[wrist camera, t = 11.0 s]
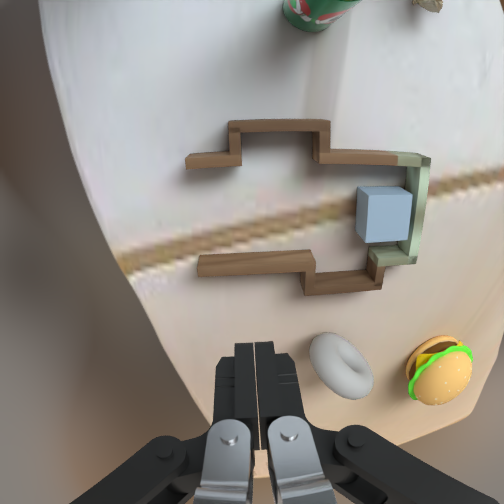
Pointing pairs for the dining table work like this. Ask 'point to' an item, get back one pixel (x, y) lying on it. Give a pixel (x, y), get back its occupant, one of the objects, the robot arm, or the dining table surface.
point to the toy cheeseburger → (439, 370)
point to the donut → (341, 366)
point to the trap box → (303, 258)
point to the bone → (430, 4)
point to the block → (383, 213)
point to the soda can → (315, 12)
